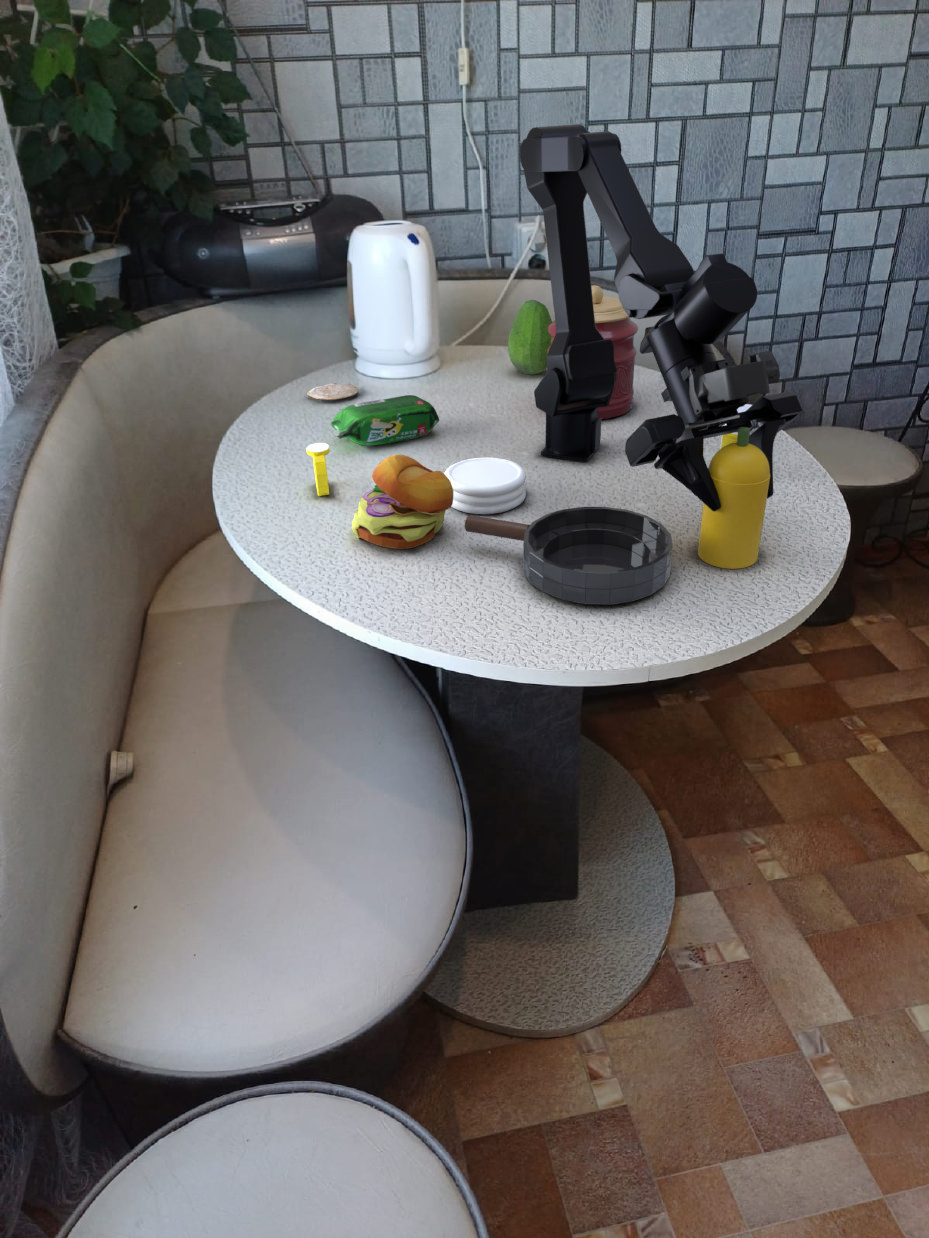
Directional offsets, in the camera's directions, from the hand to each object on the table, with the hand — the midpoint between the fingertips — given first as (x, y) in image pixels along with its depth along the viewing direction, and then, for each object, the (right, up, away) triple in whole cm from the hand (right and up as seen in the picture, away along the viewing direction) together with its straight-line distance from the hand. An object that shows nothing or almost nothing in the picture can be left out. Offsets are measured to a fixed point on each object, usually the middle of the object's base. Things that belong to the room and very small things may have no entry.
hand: (743, 503), depth 95 cm
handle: (-25, -3, +5) cm, 26 cm away
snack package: (-40, +14, +37) cm, 56 cm away
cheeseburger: (-35, -2, +11) cm, 37 cm away
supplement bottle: (+6, +7, +23) cm, 25 cm away
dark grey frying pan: (-15, -7, +2) cm, 16 cm away
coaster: (-26, +3, +19) cm, 32 cm away
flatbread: (-49, +24, +54) cm, 77 cm away
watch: (-46, +4, +22) cm, 52 cm away
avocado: (-17, +29, +61) cm, 70 cm away
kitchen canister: (-10, +20, +46) cm, 51 cm away
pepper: (0, -5, +5) cm, 7 cm away
